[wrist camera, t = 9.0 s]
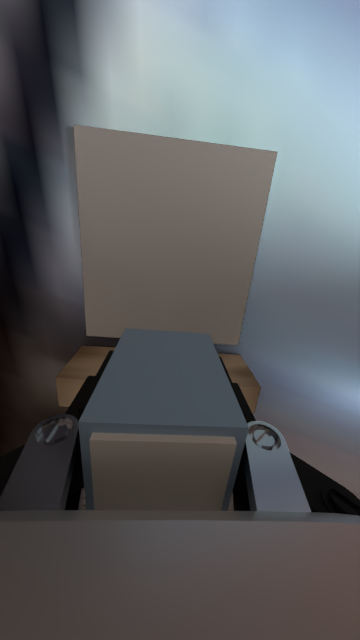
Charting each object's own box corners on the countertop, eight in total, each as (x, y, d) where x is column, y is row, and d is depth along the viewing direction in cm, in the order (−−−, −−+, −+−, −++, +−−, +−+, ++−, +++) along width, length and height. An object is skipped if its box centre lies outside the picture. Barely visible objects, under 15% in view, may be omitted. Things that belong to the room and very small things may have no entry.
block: (209, 333, 10) (251, 434, 5) (197, 414, 12) (219, 555, 7) (125, 328, 10) (74, 429, 5) (125, 412, 12) (87, 557, 6)
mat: (274, 154, 12) (277, 151, 12) (236, 342, 16) (238, 345, 16) (76, 128, 12) (73, 124, 11) (88, 333, 16) (86, 335, 15)
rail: (240, 354, 17) (261, 387, 13) (235, 376, 18) (254, 413, 14) (82, 345, 16) (55, 377, 12) (83, 368, 17) (58, 406, 13)
